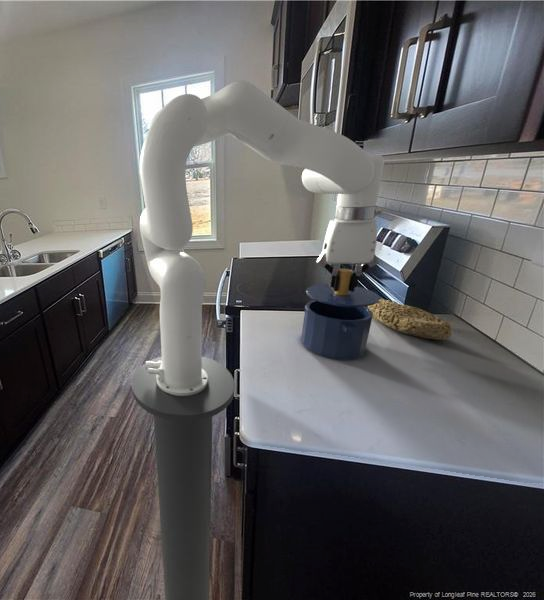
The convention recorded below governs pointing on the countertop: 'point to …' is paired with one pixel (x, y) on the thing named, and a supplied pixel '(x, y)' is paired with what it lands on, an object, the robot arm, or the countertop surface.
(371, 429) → the countertop surface
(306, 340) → the pot
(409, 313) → the sponge
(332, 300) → the lid
